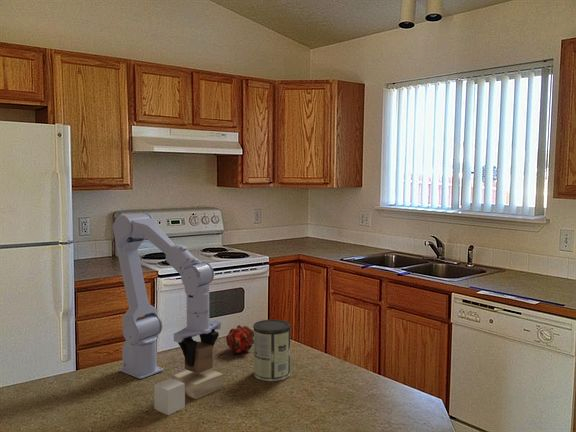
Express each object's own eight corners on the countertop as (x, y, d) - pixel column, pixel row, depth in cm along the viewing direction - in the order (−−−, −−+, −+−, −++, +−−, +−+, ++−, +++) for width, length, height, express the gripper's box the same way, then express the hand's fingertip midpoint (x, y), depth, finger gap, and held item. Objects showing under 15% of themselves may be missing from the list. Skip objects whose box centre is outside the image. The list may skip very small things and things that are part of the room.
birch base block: (173, 390, 133) (173, 375, 133) (200, 379, 140) (200, 365, 140) (195, 400, 128) (195, 384, 127) (223, 389, 134) (223, 374, 134)
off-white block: (154, 409, 122) (154, 384, 121) (171, 401, 126) (170, 378, 125) (168, 415, 119) (168, 390, 118) (184, 407, 123) (184, 383, 122)
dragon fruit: (248, 349, 168) (237, 367, 157) (227, 333, 168) (215, 350, 157) (263, 330, 165) (252, 348, 154) (241, 314, 166) (229, 331, 154)
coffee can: (264, 364, 150) (265, 317, 149) (296, 371, 146) (297, 322, 144) (246, 377, 141) (246, 326, 140) (279, 384, 137) (279, 332, 135)
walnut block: (184, 369, 133) (184, 346, 132) (198, 363, 137) (198, 341, 136) (198, 373, 130) (198, 350, 129) (212, 367, 134) (212, 345, 133)
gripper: (187, 319, 124) (187, 374, 125) (229, 307, 135) (229, 357, 137) (167, 314, 128) (168, 367, 129) (210, 302, 140) (210, 351, 141)
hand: (198, 362), depth 133 cm, fingers closed on walnut block, 5 cm apart
